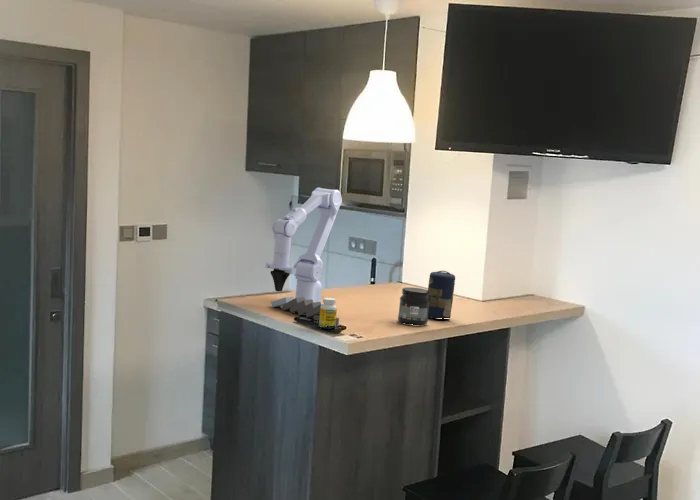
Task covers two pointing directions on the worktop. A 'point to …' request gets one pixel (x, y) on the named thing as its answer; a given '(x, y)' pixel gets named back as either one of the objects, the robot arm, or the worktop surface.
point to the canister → (440, 294)
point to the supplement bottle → (328, 312)
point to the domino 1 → (281, 301)
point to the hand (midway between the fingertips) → (278, 290)
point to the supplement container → (414, 306)
